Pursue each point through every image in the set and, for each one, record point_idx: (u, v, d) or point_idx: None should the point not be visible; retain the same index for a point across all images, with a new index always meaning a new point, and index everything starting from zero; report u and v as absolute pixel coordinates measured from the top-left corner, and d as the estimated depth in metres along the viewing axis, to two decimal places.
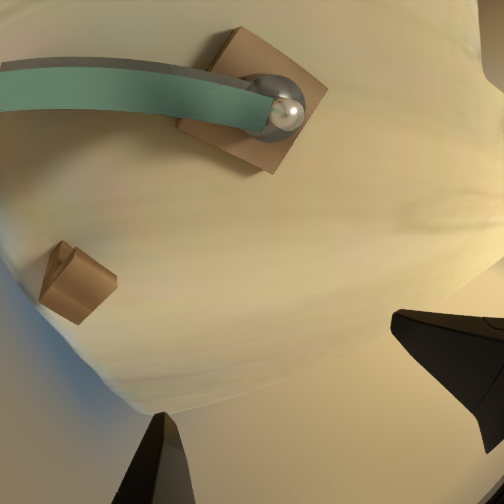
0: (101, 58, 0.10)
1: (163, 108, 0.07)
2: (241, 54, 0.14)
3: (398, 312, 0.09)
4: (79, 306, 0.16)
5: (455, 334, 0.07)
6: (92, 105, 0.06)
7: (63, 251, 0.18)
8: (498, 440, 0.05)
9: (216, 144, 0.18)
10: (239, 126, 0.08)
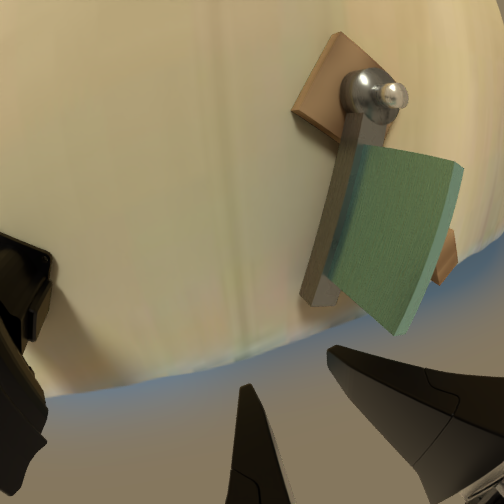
0: (336, 229, 0.19)
1: (448, 223, 0.12)
2: (323, 109, 0.18)
3: (332, 349, 0.09)
4: (451, 258, 0.24)
5: (384, 387, 0.06)
6: (437, 259, 0.13)
7: None
8: (442, 498, 0.04)
9: None
10: (460, 182, 0.12)
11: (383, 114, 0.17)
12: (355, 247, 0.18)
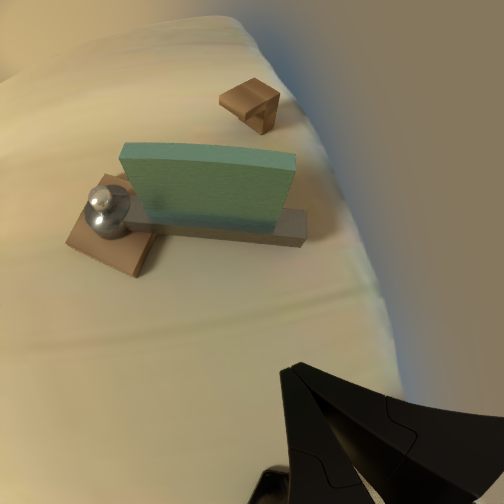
0: (225, 229, 0.21)
1: (173, 145, 0.15)
2: (129, 252, 0.23)
3: (295, 366, 0.09)
4: (249, 87, 0.25)
5: (340, 413, 0.06)
6: (209, 146, 0.15)
7: (259, 126, 0.28)
8: None
9: None
10: (136, 143, 0.15)
11: (121, 200, 0.22)
12: (234, 212, 0.20)
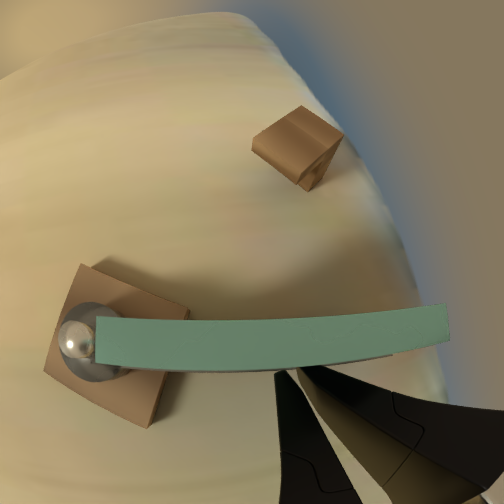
0: (286, 368, 0.13)
1: (219, 328, 0.06)
2: (137, 398, 0.14)
3: None
4: (297, 123, 0.17)
5: (347, 410, 0.06)
6: (304, 322, 0.07)
7: (307, 180, 0.20)
8: None
9: (143, 293, 0.16)
10: (124, 320, 0.06)
11: None
12: None
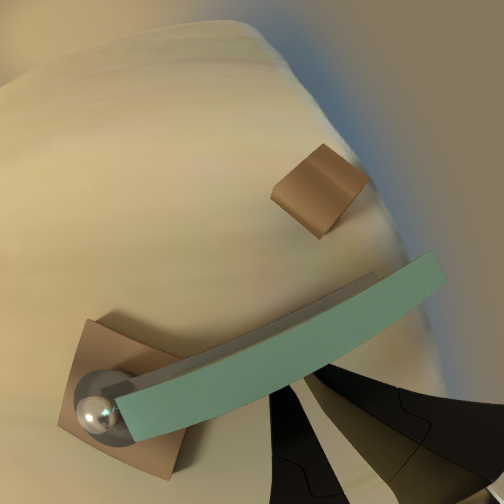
0: None
1: (236, 363, 0.06)
2: (158, 454, 0.13)
3: None
4: (320, 167, 0.16)
5: (354, 406, 0.06)
6: (312, 323, 0.07)
7: None
8: None
9: (157, 354, 0.15)
10: (143, 392, 0.06)
11: (122, 392, 0.12)
12: None
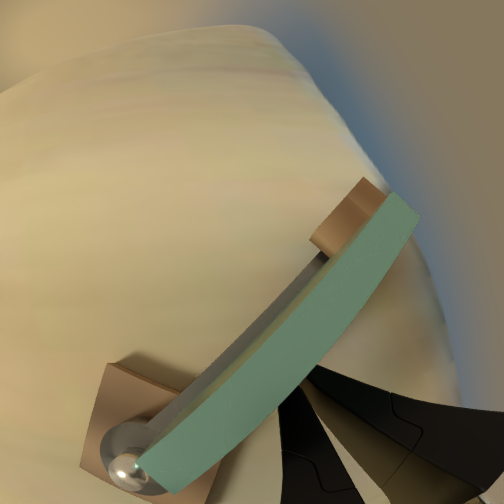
0: None
1: (237, 383, 0.06)
2: (187, 495, 0.11)
3: None
4: (362, 205, 0.14)
5: (346, 410, 0.06)
6: (298, 313, 0.06)
7: None
8: None
9: None
10: (158, 445, 0.05)
11: (144, 440, 0.11)
12: None
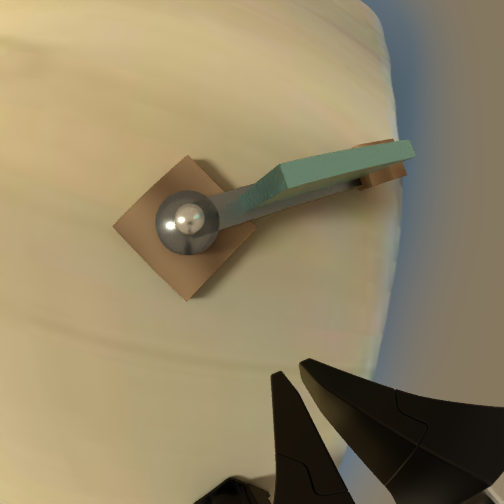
0: (320, 196, 0.22)
1: (334, 155, 0.13)
2: (191, 275, 0.21)
3: (304, 362, 0.09)
4: None
5: (351, 408, 0.06)
6: (361, 149, 0.14)
7: None
8: None
9: None
10: (294, 161, 0.13)
11: (201, 207, 0.19)
12: (336, 183, 0.20)
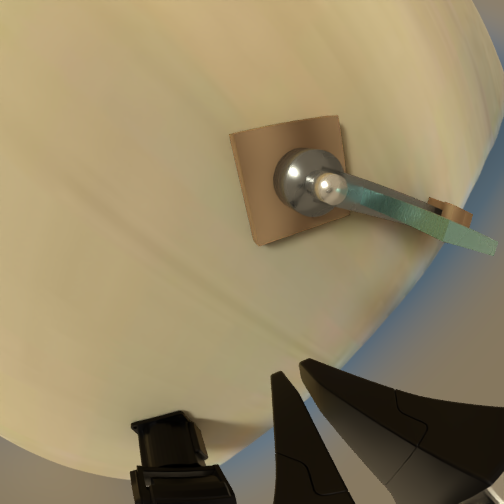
0: None
1: (469, 232, 0.13)
2: (277, 225, 0.20)
3: (304, 362, 0.09)
4: (464, 220, 0.22)
5: (351, 407, 0.06)
6: (480, 235, 0.14)
7: None
8: None
9: None
10: (455, 223, 0.12)
11: None
12: None
